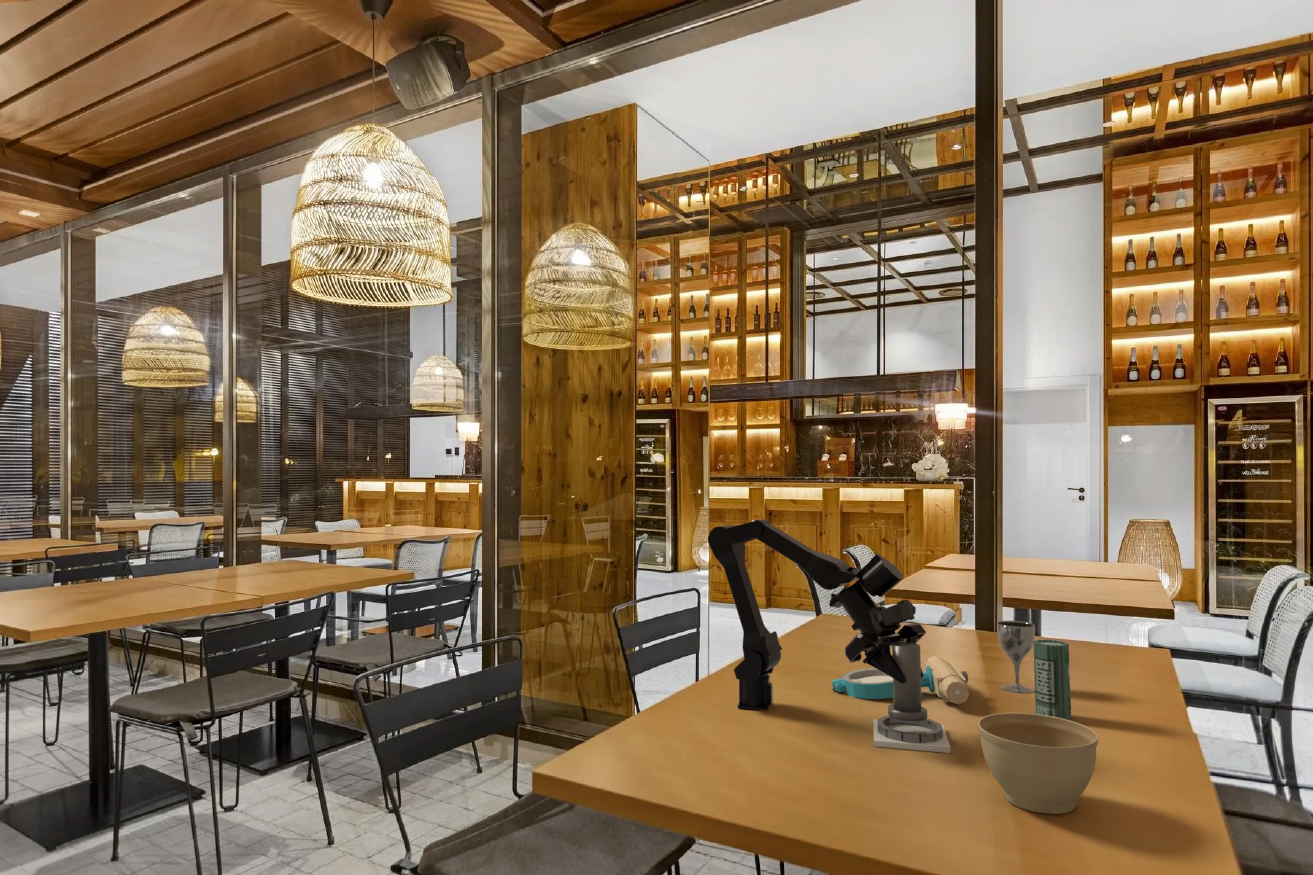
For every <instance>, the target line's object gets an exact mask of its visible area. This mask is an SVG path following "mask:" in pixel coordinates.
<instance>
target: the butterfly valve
mask: <svg viewBox="0 0 1313 875" xmlns="http://www.w3.org/2000/svg"><path fill="white" fill-rule="evenodd" d="M924 665H925V671H922V672H923V675H924V676H923V677H922V678H921V688H928V690H929V691H930V693H931V694H932V693H934V694H935V693H936V695H937V696H938V698H941V699H942V701H943V702H944V703H948V702H949V703H950V702H951V703H953V704H956V705H961V704H964V703H965V702H966V701H968V698H969V696H970V693H969V689H968V684H967V683H968V681H969V674H968V673H967V671H963V670H961V671H960V670H958V669H957V667H956V666H955V665H954V664H953V663H952V662H950V661H949V662H948V661H947V660H946V659H943V658H942V657H941V656H937V655H933V656H931V657H929V658H928V659H927V661H925V662H924ZM831 689H832V691H833V692H834V691H837V692H838V693H842V692H843V693H844V692H845V693H844V694H846V693H847V694H848V695H849V697H851V696H853V697H852V698H855V699H864V700H882V699H891V698H893V678H892V677H890V676H889V675H887V674H885V673H883V672H882V671H880V670H878V669H876V668H874V667H872V668H861V669H856V670H852V671H849V672H847V673H845V674H844V675H842V676H841V678H837V679H832V681H831ZM837 692H836V693H837ZM847 694H846V695H847ZM848 695H847V696H848Z"/></svg>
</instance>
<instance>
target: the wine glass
mask: <svg viewBox="0 0 1313 875" xmlns="http://www.w3.org/2000/svg"><path fill="white" fill-rule="evenodd" d="M1035 627H1036V626H1035V624H1034V623H1032V622H1027V621H1021V620H1019V621H1018V620H999V621H997V622H996V630H997V633H996V634H997V639H998V642H999V645H1000V648H1001V649H1002V651H1004V652H1005V654H1006V655H1007V656H1008V657H1009V658H1010V660H1011V662H1012V665H1013V667H1014V668H1013V669H1014V674H1015V675H1014V676H1015V677H1014V678H1015V680H1014V681H1015V682H1014V683H1013V684H1005V685H1001V686H1000V689H1001V690H1003V691H1006V692H1009V693H1014V694H1032V693H1035V688H1031V687H1029V686H1025V685H1022V684H1021V683H1020V670H1021V669H1020V668H1021V664H1022V662H1023V660H1024V659H1025V658H1026V657H1027V656H1028V655H1029V654H1031V652H1032V650H1033V649H1034V641H1035V639H1036V638H1035V637H1036V636H1035V635H1036V633H1035V632H1036V628H1035Z"/></svg>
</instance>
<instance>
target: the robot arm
mask: <svg viewBox="0 0 1313 875" xmlns="http://www.w3.org/2000/svg"><path fill="white" fill-rule="evenodd" d="M754 540H758V541H759V542H761V543H763V544H764V545H767V547H769V548H771V549H772V550H774V551H776V552H777V553H778V554H780V555H782V556H784V557H785V558H787V559H789V561H791V562H793V563H795V564H796V565H798V566H799V567H800V568H802V569H803V570H804V572H805V573H806V574H807V575H808V577H809V579H811V580H813V581H814V582H815V584H817V585H818V586H819V587H821V589H823V590H827V591H830V590H836V589H838V588H842V587H844V588H842V589H841V590H839V592H837V593H831V594H830V600H829V607H832V608H836V609H837V608H838V609H839V608H841V607H842V608H843V609H844V611H845V612H846V613H847V615H848V616H849V617H850V619H851V621H852V622H853V624H852V625H851V626H850V627H851V628H852V629H853V631H859V632H860V633H857V634H856V635H855V636H854V637H853V638H852V639H851V641H850V642H849V643H848V644H847V645H846V646H845V647H844V654H845V657H846V658H847V659H848V661H849V663H857V662H860V661H861V660H862V654H861V653H862V652H864V655H865V658H864V659H863V660H862V663H863V664H867V665H869V666H870V667H872V668H876V669H878V670H880V671H882V672H883V673H885V674H887V675H889V676H890V677H892V678H893V679H895V680H897V681H898V682H900V683H902V684H903V683H905V682H906V678H905V676H904V674H903V673H902V671H901V669H900V668H899V666H898V665H897V663H896V661H895V660H894V658H893V654H892V652H891V647H892V644H893V643H897V642H907V643H915V644H918V642H919V641H920V640H921V639H922V638H923V637H924V636H925V635H926V634H927V631H926V630H925V629H924V627H923V626H922V625H921V624H920V623H909V624H908V623H907V624H904V625H903V626H902V625H901V624H902V623H905V622H906V621H909V620H910V621H912V620H915V615H916V606H915V605H914V604H913V603H912V602H911V601H910V600H909V599H908V598H907V599H902V600H901V601H897V602H896V604H893V605H891V606H889V607H885V606H884V605H881V606H878V605H877V604H876V602H875V600H874V599H873V598H872V597H876V596H877V597H878V598H883V597H885V595H887V594H888V593H889V592H890V591H891V590H892V589H894V588H895V587H896V586H897V585H898V584H899V583H900V582H902V580H904V576H903V574H902V572H901V570H900V569H899V568H898V567H897V566H896V565H895V564H894V563H892V562H890V561H889V560H888V559H887V558H885V557H883V556H882V554H880V553H877V554H875V555H874V556H872V558H871V559H870V560H869V562H867V563H866V564H865V565H864V566H863V567H862V568H859V567H858V568H857V567H853V566H849V564H848V563H847V562H846V561H845V560H842V559H840V558H838V557H835V556H833V555H830V554H827V553H823V552H819V551H817V550H814V549H812V548H811V547H809V546H807V545H806V544H804V543H803V542H801V541H799V540H797V539H796V538H794V537H793V536H791V535H790V534H789V533H786V532H785V531H783V530H781V529H780V528H778V527H776V526H775V525H773V524H771V523H770V521H768V519H765V518H764V519H762V518H759V519H754V520H751V521H749V522H746V523H742V524H739V525H733V524H729V525H719V526H715V527H713V528H712V529H711V530H710V531H709V534H708V536H707V543H708V546H709V548H710V550H711V552H712V554H713V556H714V558H715V559H716V560H717V561H718V563H719V564H720V565H721V566H722V568H723V570H724V572H725V576H726V580H727V583H728V585H729V586H728V587H729V588H730V591H731V592H730V593H731V595H732V598H733V602H734V606H735V609H736V612H737V615H738V618H739V621H740V625H741V628H742V631H743V632H742V635H743V637H742V653H743V660H742V661H741V662H740V663H738V665H737V666H735V667H734V669H733V673H734V676H735V679H736V680H738V691H739V692H738V700H739V701H738V704H737V708H738V709H748V710H758V711H760V710H761V711H768V710H769V709H770V707H771V706H772V705H773V702H774V700H773V699H774V698H773V683H772V682H770V681H771V678H770V677H771V676H770V675H771V674H772V673H773V671H774V668H775V667H776V666H778V665H779V663H780V661H781V659H782V653H781V651H782V650H783V647H782V645H780V642H779V637H778V633H777V631H772V632H770V631H769V629H768V628H767V627H766V626H765V623H764V621H763V617H762V614H761V611H760V608H759V604H758V601H757V599H756V595H755V592H754V588H753V585H752V582H751V579H750V576H749V573H748V569H747V566H746V564H745V563H746V562H745V558H746V543H748V542H752V541H754ZM854 581H855V582H854ZM852 582H854V583H853V584H852V585H851V586H849V585H847V584H849V583H852ZM901 626H902V627H901ZM897 630H898V631H897ZM896 631H897V632H896ZM923 672H924V671H923V670H922V668H921V678H922V677H923V676H924V675H923Z"/></svg>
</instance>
